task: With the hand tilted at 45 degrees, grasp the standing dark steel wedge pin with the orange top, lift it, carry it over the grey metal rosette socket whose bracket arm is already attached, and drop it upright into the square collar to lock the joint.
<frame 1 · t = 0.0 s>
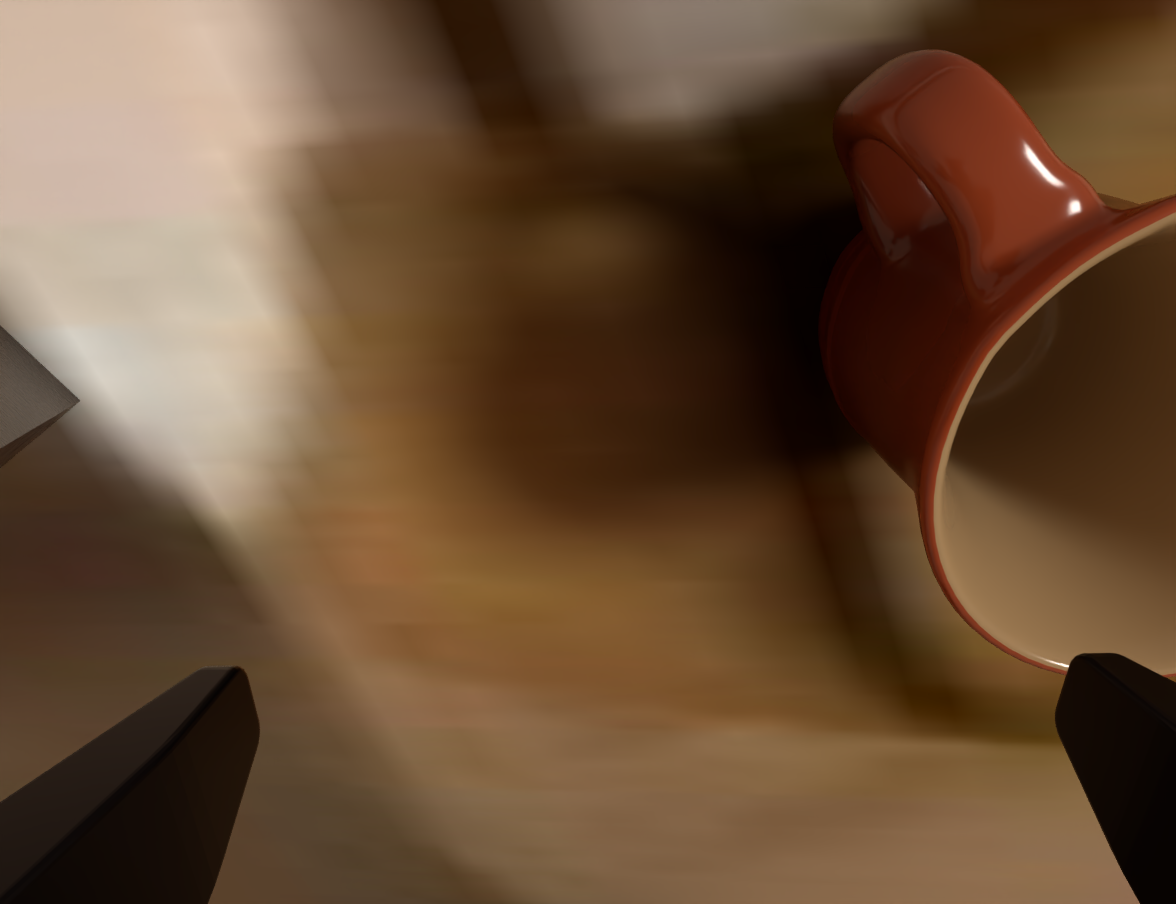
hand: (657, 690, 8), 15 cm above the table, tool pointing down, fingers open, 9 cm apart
mug: (902, 263, 21), on the table
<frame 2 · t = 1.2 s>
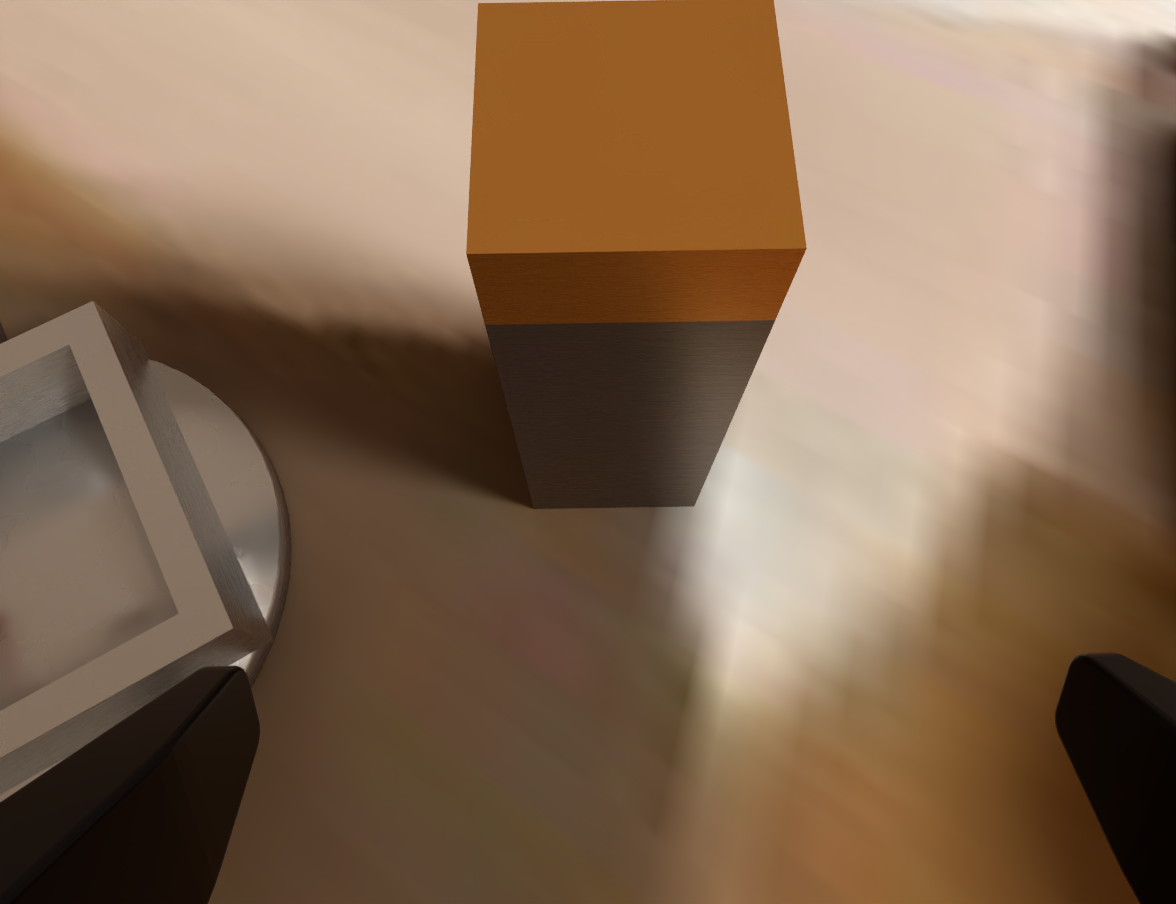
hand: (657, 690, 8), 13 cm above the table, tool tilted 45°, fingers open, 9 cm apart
rosette socket: (49, 580, 22), on the table
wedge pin: (611, 432, 24), on the table
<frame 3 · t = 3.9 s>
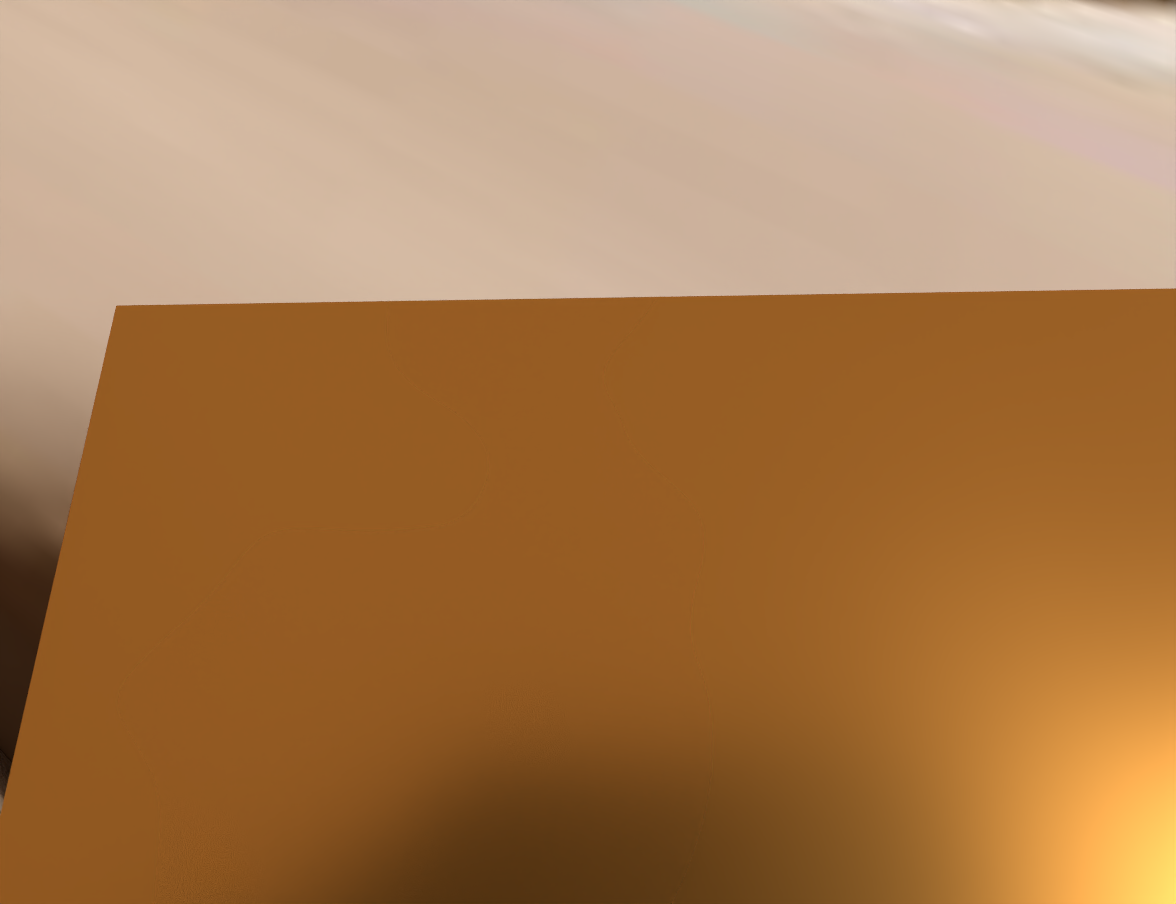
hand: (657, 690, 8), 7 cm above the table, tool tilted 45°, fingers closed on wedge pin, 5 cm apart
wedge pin: (632, 790, 14), on the table, touching gripper
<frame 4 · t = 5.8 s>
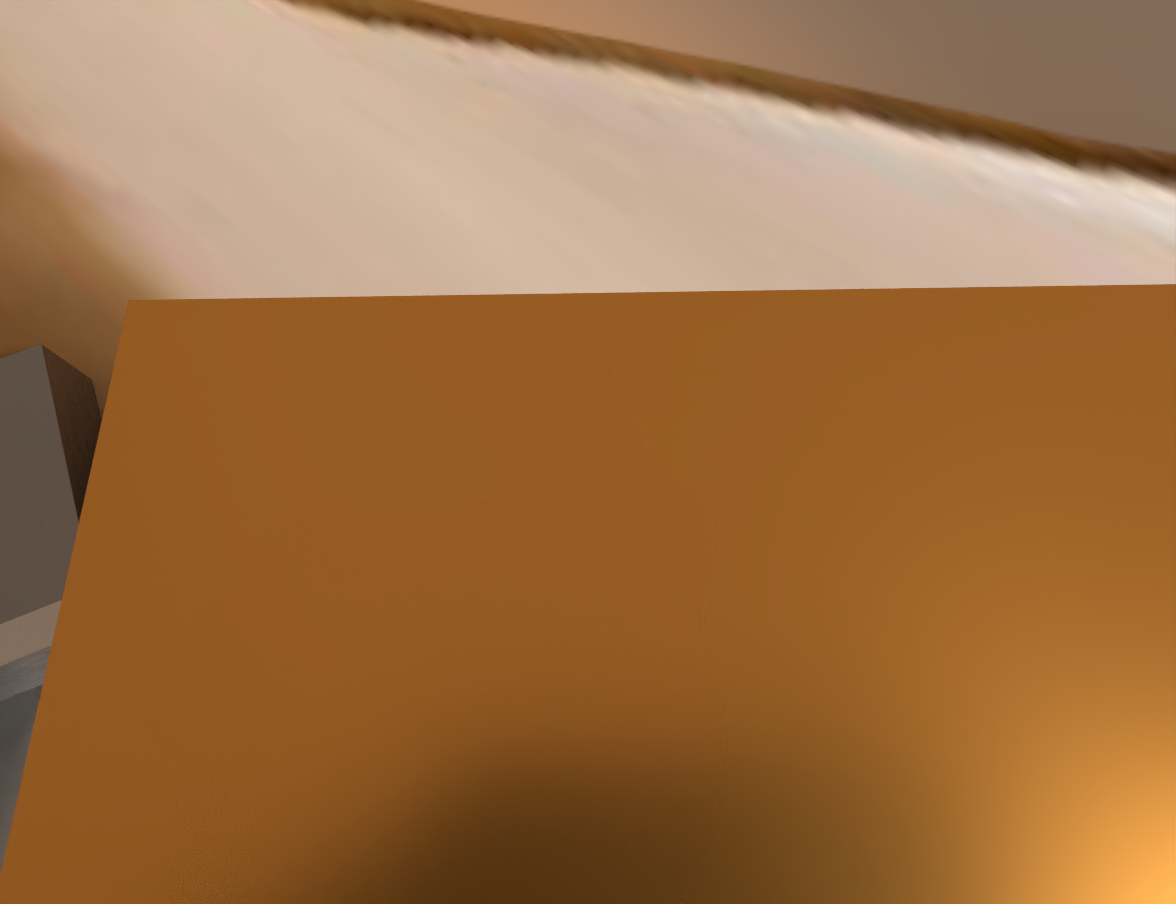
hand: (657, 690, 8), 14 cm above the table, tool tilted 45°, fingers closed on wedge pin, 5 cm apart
rosette socket: (143, 820, 20), on the table
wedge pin: (634, 788, 14), point 7 cm above the table, touching gripper
when the fingers open (9 cm above the table, at t = 7.9 s): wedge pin drops 1 cm, resting on rosette socket.
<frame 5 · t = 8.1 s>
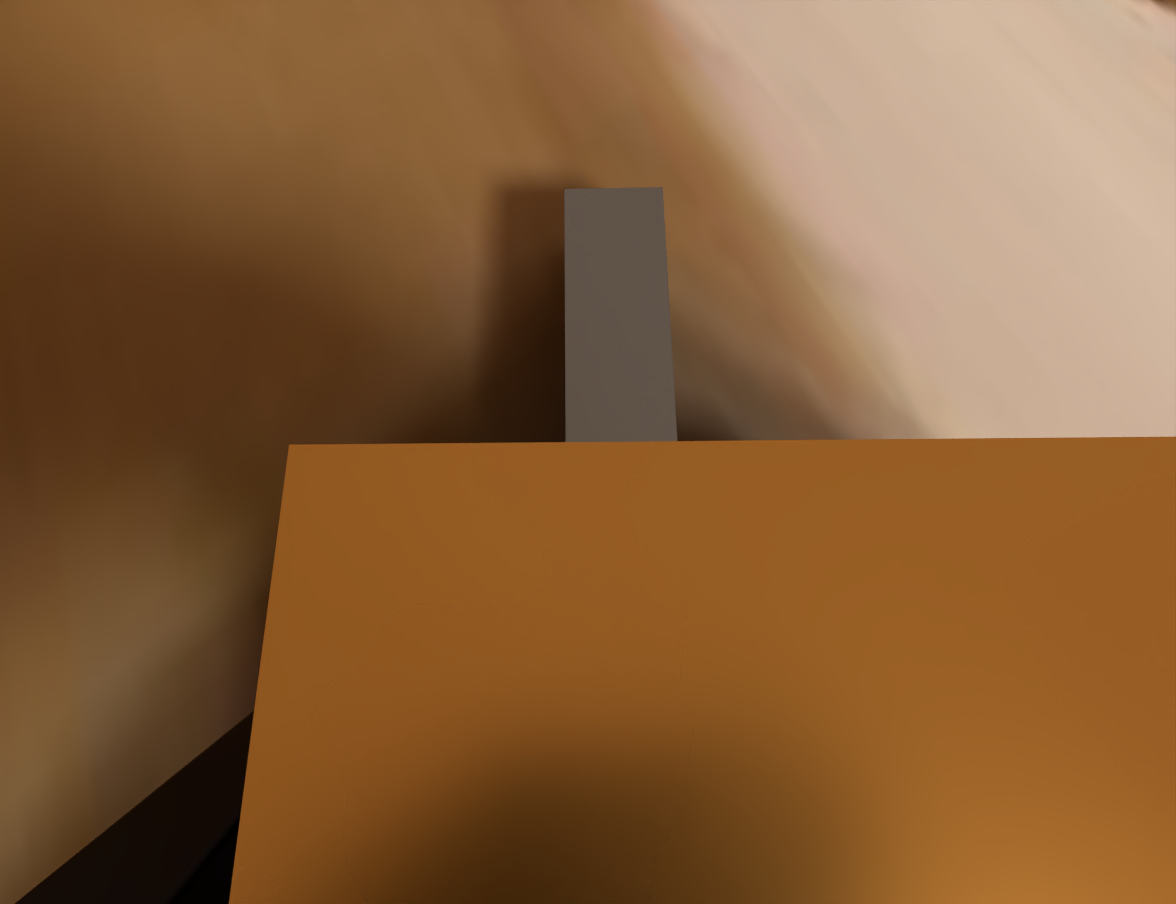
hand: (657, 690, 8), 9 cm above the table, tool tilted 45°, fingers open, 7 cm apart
rosette socket: (627, 782, 16), on the table
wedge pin: (629, 782, 16), point 1 cm above the table, touching rosette socket
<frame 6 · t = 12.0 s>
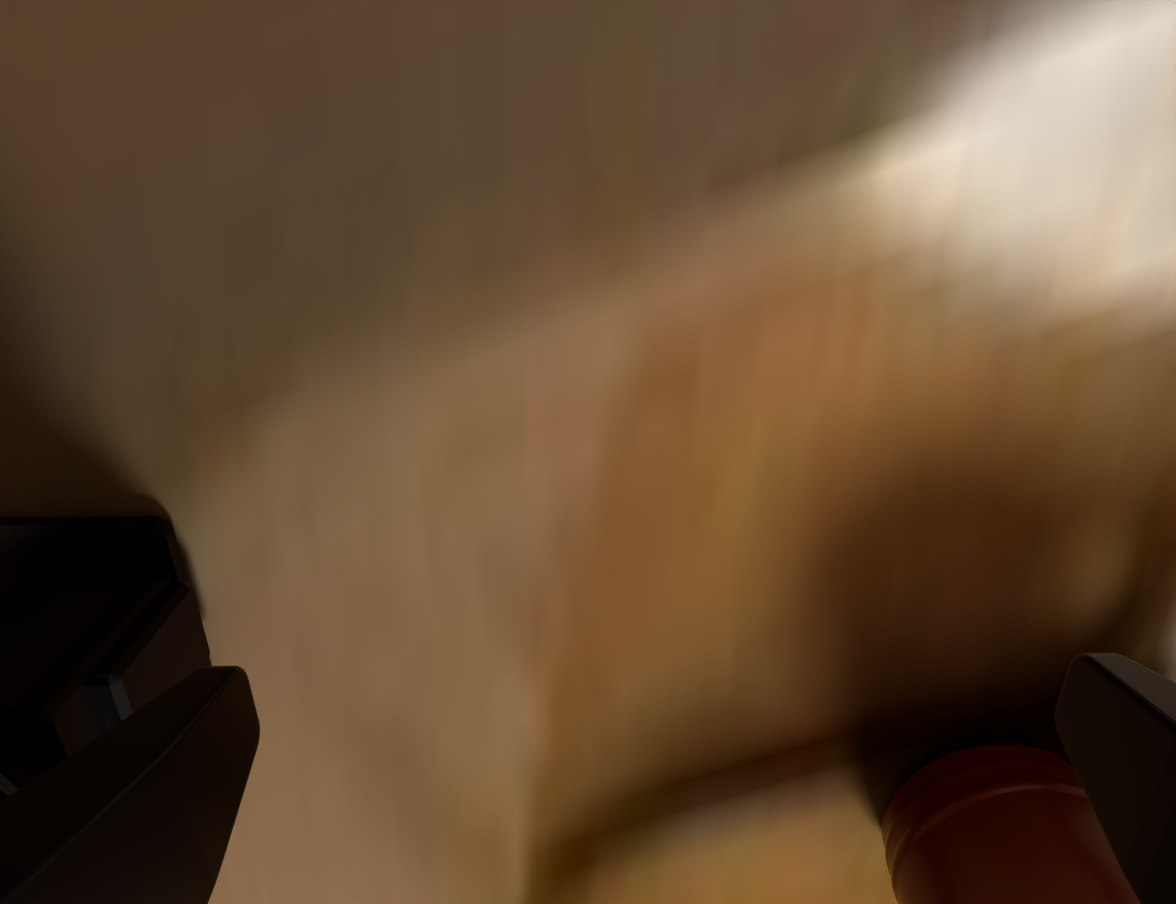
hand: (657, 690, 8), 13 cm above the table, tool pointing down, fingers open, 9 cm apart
mug: (1012, 777, 27), on the table
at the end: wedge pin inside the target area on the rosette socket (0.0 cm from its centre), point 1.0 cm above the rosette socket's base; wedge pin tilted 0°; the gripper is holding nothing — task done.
